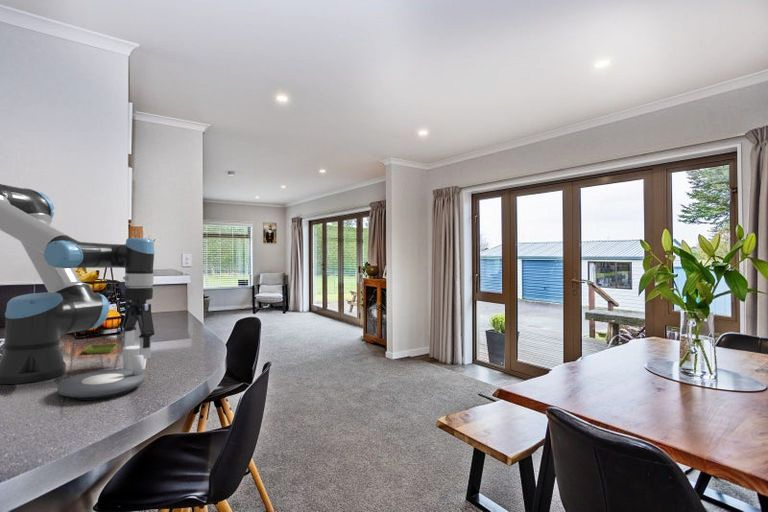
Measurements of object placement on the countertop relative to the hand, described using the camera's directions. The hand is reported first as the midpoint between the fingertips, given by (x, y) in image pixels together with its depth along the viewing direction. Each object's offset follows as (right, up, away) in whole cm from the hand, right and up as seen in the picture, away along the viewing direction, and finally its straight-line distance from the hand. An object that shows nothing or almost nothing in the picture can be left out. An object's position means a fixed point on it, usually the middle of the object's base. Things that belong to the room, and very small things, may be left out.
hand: (136, 354), depth 118 cm
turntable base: (+4, -4, -19) cm, 20 cm away
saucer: (-26, -5, +20) cm, 33 cm away
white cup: (-1, -5, 0) cm, 5 cm away
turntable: (+4, -3, -19) cm, 20 cm away
